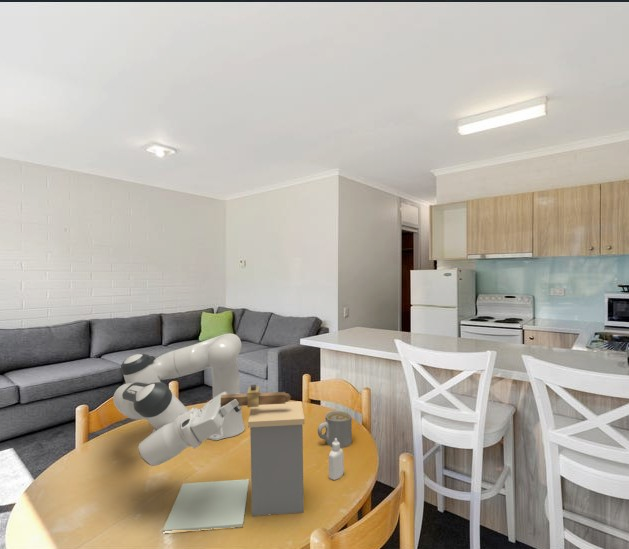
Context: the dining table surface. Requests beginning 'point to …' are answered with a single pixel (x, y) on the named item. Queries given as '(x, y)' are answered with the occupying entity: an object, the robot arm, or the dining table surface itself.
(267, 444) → the stand
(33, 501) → the dining table surface
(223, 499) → the sage mat
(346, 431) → the coffee mug
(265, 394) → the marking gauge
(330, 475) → the eye dropper bottle
